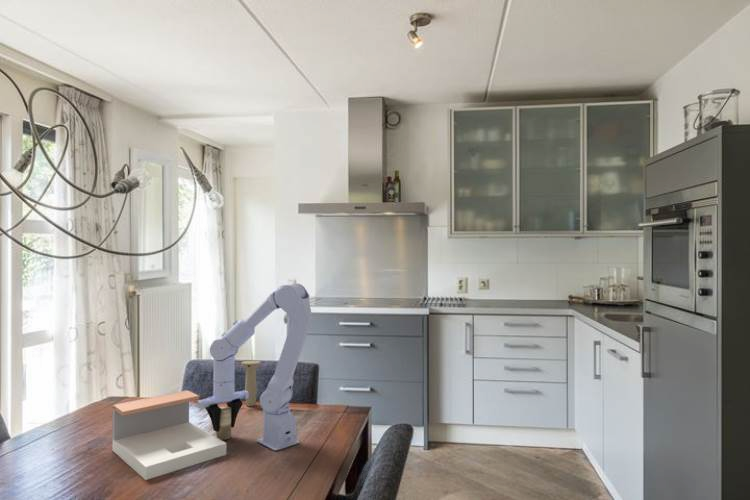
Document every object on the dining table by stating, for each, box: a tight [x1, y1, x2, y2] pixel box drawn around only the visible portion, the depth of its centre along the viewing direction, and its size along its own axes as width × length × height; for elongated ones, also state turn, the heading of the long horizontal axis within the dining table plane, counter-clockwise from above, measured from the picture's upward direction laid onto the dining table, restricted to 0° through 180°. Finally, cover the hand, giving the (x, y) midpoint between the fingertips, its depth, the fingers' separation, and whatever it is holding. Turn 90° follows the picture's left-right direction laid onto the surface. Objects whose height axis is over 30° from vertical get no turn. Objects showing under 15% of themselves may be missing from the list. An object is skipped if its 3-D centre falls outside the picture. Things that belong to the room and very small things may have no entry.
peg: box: [215, 406, 232, 441], centre depth 134 cm, size 4×4×8 cm
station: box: [111, 389, 227, 481], centre depth 124 cm, size 24×20×12 cm
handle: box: [240, 360, 262, 407], centre depth 164 cm, size 5×6×15 cm
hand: (223, 428), depth 134 cm, fingers closed on peg, 4 cm apart
